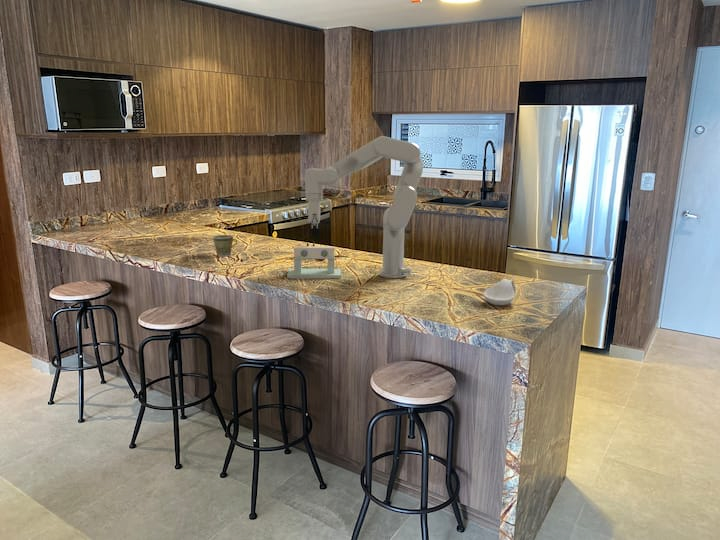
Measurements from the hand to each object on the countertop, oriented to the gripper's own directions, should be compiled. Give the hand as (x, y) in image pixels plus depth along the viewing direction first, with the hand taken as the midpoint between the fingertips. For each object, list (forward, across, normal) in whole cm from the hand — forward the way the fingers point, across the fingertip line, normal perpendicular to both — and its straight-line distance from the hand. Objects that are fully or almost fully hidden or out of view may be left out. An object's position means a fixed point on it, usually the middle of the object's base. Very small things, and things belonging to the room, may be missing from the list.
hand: (315, 235), depth 245 cm
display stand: (+18, 0, -1) cm, 19 cm away
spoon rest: (+21, +37, +75) cm, 86 cm away
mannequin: (+19, -42, -1) cm, 46 cm away
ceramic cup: (+18, -39, -48) cm, 64 cm away
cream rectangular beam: (+10, 0, -1) cm, 11 cm away
